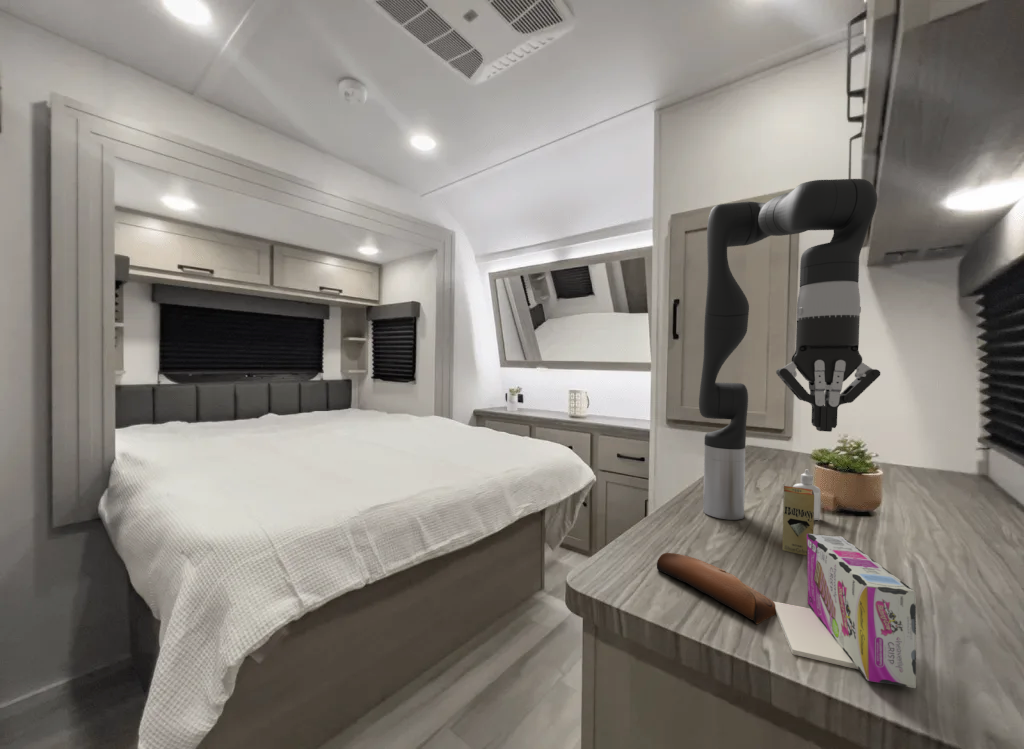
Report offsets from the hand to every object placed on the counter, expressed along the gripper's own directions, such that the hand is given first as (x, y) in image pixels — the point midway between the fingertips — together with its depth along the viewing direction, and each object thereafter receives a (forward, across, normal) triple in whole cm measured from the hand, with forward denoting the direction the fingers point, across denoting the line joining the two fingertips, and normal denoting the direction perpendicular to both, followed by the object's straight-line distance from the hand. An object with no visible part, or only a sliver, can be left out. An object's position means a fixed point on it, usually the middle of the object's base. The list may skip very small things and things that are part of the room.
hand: (823, 430), depth 63 cm
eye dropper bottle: (+28, -10, -47) cm, 55 cm away
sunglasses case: (+28, +14, +1) cm, 31 cm away
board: (+27, 0, +8) cm, 28 cm away
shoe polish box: (+28, -2, -24) cm, 37 cm away
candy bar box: (+21, 0, +1) cm, 21 cm away
